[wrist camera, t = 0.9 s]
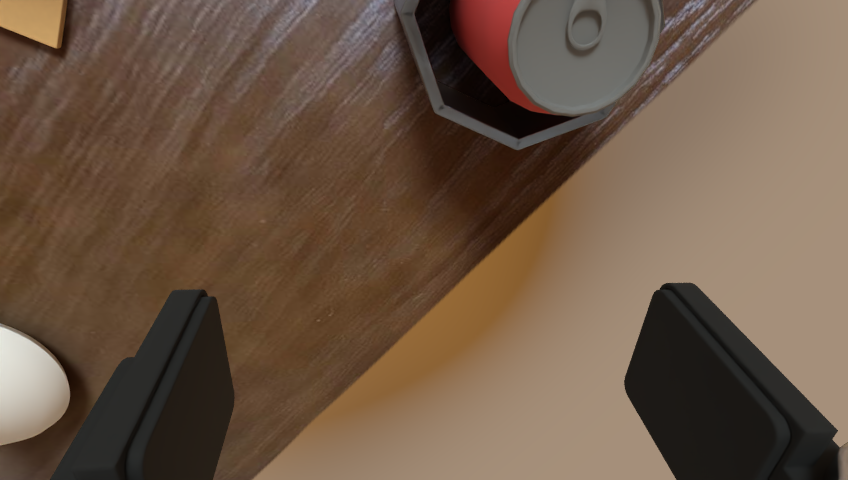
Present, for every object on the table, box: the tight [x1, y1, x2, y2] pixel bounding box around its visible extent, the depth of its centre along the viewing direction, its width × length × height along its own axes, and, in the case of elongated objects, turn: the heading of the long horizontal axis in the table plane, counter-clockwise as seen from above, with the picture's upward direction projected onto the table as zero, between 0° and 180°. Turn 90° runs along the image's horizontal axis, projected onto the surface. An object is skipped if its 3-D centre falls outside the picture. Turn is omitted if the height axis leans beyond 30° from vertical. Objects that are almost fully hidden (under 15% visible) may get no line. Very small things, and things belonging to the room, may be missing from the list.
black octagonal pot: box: [394, 0, 665, 150], centre depth 26 cm, size 12×12×6 cm
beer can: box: [449, 0, 661, 117], centre depth 23 cm, size 7×7×12 cm
